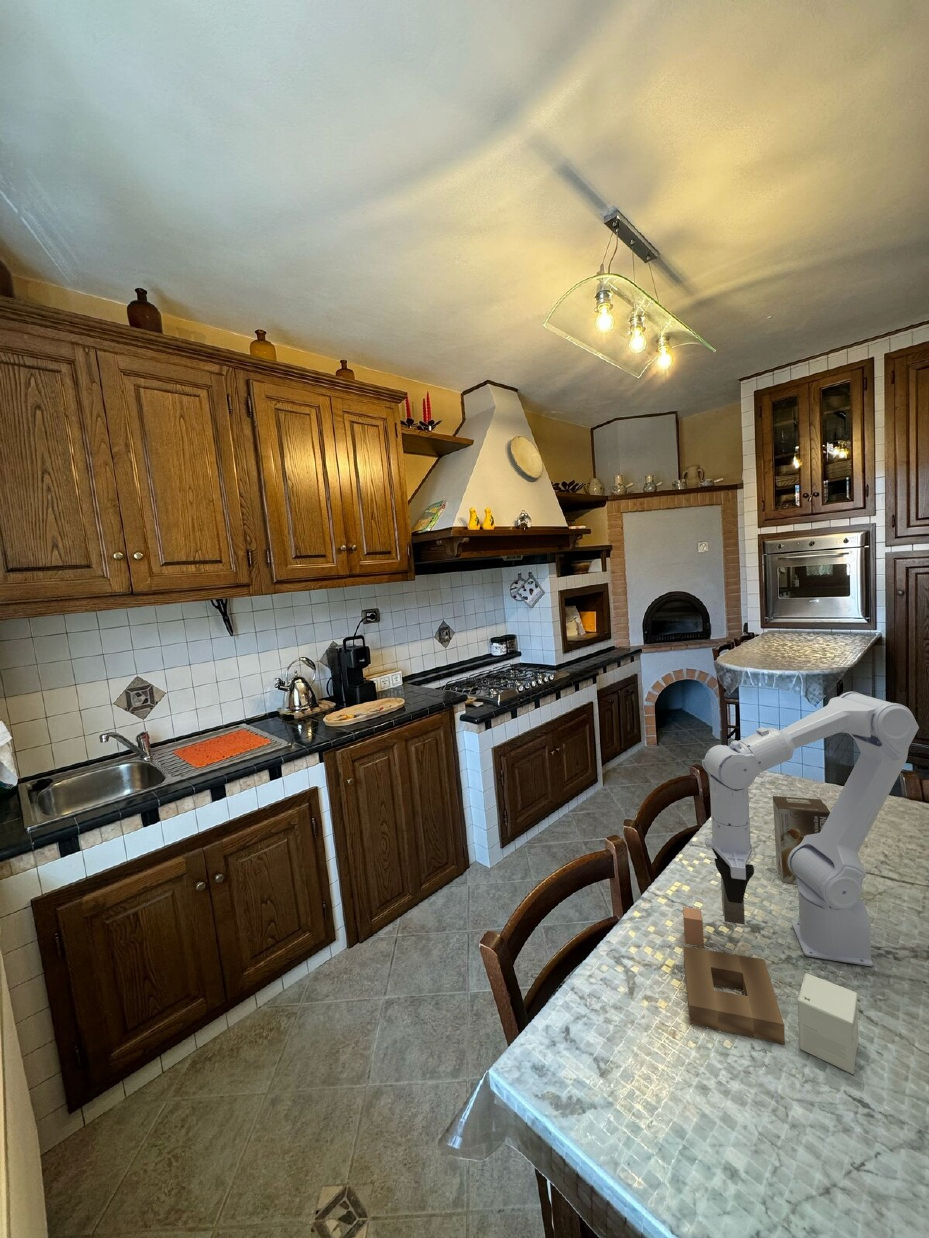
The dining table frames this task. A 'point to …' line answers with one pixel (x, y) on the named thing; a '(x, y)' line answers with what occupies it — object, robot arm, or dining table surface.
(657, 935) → the dining table surface
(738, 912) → the long metal pin
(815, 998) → the product box
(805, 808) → the coffee box
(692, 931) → the orange brown block
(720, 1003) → the hole block
